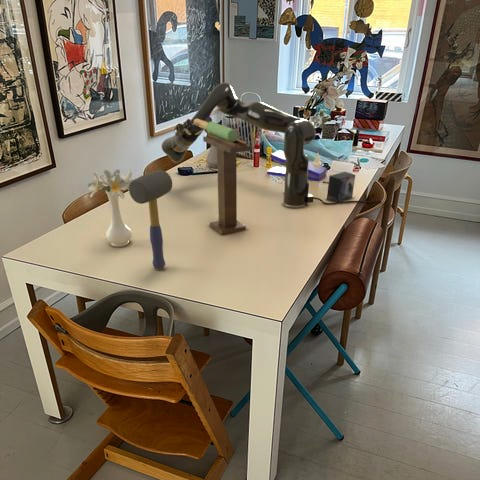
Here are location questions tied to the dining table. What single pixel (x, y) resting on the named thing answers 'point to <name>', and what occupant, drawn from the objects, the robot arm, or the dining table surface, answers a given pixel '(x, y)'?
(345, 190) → the small box
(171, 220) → the dining table surface
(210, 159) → the coffee pot
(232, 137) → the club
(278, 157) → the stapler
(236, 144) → the stand
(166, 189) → the rubber mallet
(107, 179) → the flower vase
